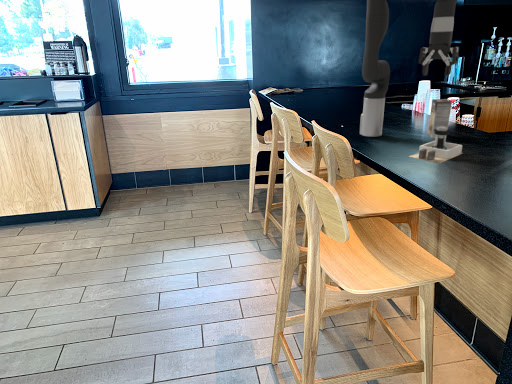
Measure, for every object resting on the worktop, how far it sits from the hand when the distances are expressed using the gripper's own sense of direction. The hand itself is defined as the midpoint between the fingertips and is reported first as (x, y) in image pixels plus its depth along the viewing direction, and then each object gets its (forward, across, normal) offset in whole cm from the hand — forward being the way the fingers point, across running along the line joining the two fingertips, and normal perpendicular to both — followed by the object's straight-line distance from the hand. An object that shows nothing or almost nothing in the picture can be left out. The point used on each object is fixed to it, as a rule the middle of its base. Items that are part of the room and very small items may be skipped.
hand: (435, 75), depth 150 cm
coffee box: (+28, +5, -19) cm, 34 cm away
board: (+28, -11, +14) cm, 33 cm away
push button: (+27, -11, +11) cm, 31 cm away
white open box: (+27, -11, +11) cm, 31 cm away
